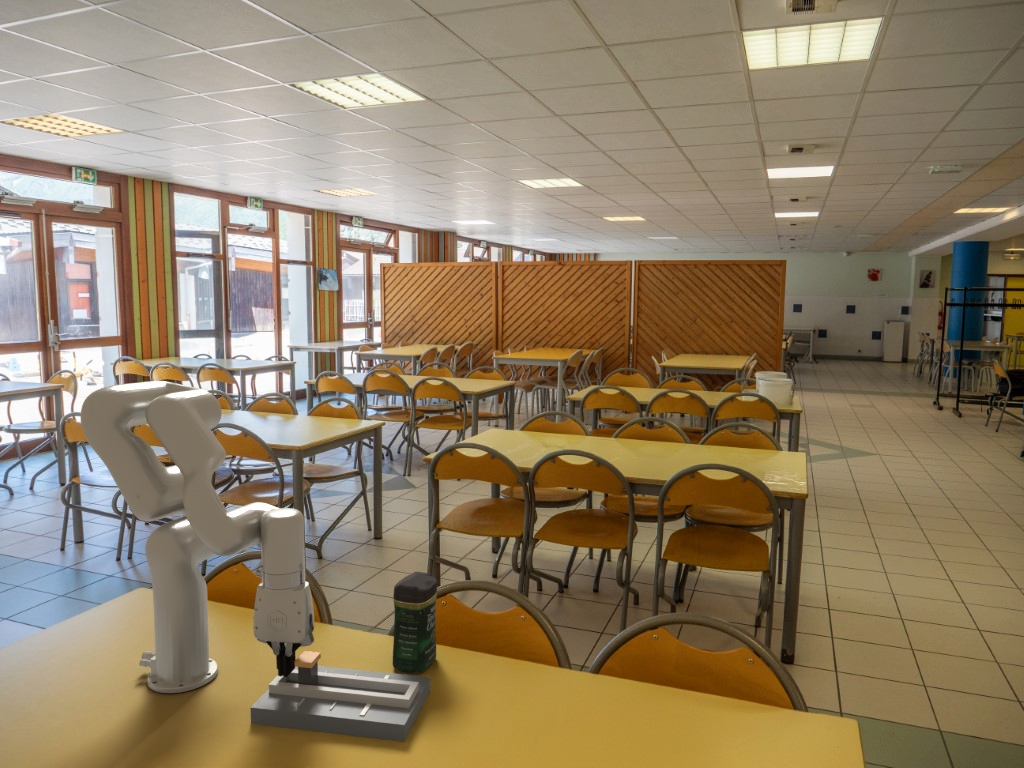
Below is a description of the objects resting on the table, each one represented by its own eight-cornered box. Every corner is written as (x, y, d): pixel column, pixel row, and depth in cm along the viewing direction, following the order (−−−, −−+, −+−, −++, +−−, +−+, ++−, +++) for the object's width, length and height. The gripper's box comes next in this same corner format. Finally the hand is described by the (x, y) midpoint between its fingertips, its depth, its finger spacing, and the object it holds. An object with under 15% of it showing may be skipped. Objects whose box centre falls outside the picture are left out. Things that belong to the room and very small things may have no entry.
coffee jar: (423, 678, 141) (423, 588, 140) (387, 671, 144) (387, 583, 142) (442, 656, 151) (442, 571, 149) (407, 650, 153) (408, 566, 151)
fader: (295, 692, 130) (294, 661, 129) (304, 681, 134) (304, 650, 133) (311, 694, 129) (311, 662, 129) (321, 683, 133) (320, 652, 133)
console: (250, 723, 125) (250, 698, 125) (292, 677, 141) (292, 655, 140) (404, 741, 121) (404, 716, 120) (430, 692, 136) (430, 669, 136)
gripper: (234, 582, 128) (238, 679, 129) (313, 587, 125) (315, 687, 127) (256, 567, 135) (259, 659, 137) (331, 572, 133) (332, 666, 134)
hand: (286, 672), depth 132 cm, fingers closed
